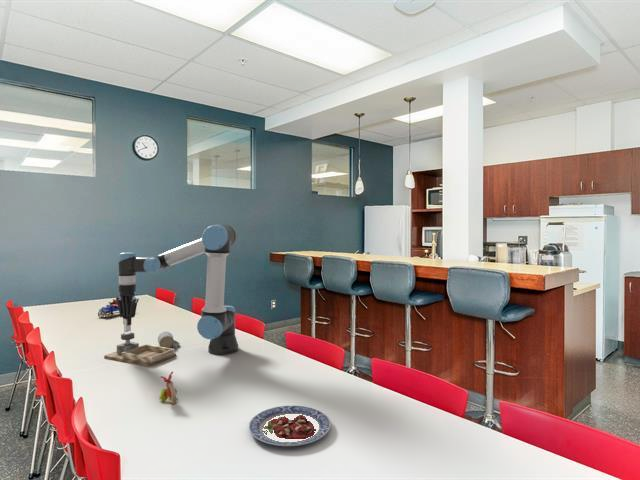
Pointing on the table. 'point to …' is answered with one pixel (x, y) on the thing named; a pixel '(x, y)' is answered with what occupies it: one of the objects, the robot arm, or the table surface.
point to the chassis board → (141, 354)
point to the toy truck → (109, 309)
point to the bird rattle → (168, 390)
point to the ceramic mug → (167, 340)
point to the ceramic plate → (289, 425)
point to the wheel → (127, 337)
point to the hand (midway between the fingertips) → (127, 331)
